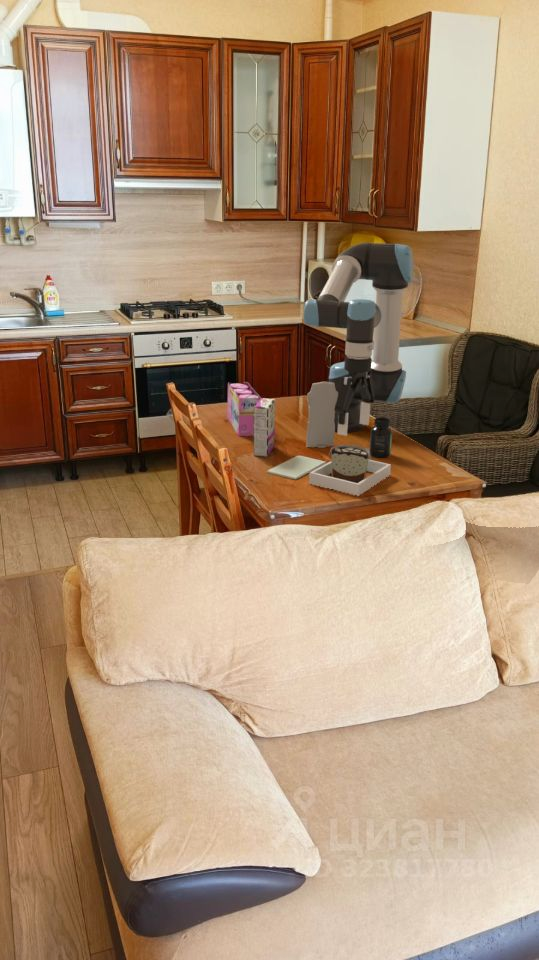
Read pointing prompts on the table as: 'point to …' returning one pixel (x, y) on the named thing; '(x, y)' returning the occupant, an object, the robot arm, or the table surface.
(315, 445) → the grey upright slab
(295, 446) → the table surface
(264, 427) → the candy bar box
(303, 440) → the table surface
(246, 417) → the gum box
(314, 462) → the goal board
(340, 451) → the food container
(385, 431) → the supplement bottle
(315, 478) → the bin
